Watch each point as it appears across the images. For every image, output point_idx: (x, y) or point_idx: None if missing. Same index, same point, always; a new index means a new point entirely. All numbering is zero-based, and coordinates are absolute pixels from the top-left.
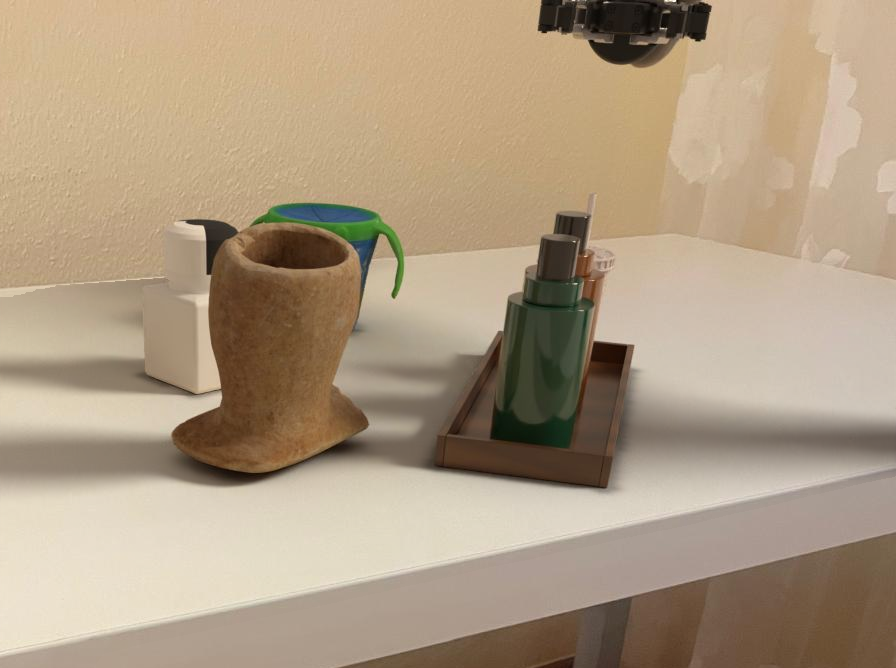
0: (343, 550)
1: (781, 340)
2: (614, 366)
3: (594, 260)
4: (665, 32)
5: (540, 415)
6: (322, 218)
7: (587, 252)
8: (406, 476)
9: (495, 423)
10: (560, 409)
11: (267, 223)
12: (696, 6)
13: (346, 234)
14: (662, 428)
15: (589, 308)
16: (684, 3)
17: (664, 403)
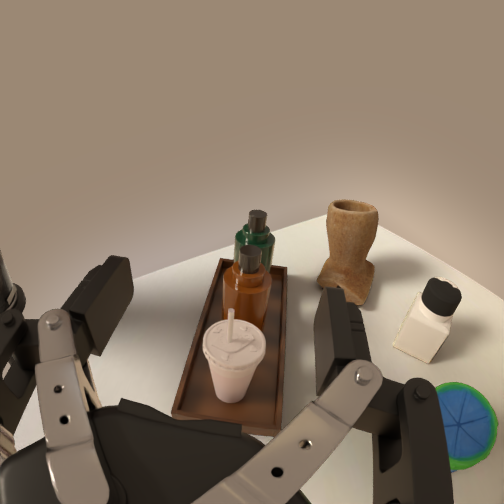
0: (297, 234)
1: None
2: (187, 408)
3: (223, 320)
4: (90, 374)
5: None
6: (465, 433)
7: (237, 265)
8: (293, 269)
9: None
10: None
11: (371, 211)
12: (8, 346)
13: None
14: (179, 323)
15: (238, 231)
16: (53, 313)
17: (166, 358)
